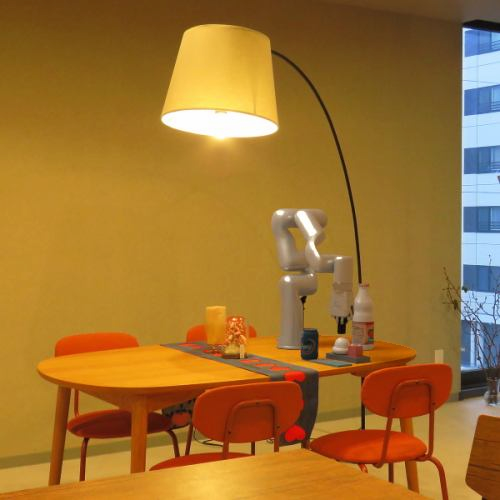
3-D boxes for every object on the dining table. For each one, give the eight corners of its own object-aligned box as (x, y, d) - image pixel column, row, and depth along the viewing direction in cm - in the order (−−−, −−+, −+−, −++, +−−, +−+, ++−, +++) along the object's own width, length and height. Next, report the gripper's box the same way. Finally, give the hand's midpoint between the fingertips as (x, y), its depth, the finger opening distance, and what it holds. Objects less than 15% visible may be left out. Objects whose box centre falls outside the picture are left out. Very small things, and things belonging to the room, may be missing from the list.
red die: (347, 355, 297) (348, 344, 297) (355, 354, 300) (355, 343, 300) (355, 357, 294) (355, 345, 294) (362, 356, 297) (362, 344, 297)
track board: (309, 361, 294) (309, 360, 294) (323, 360, 299) (323, 358, 299) (337, 367, 283) (337, 365, 283) (352, 365, 287) (352, 363, 287)
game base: (325, 358, 304) (325, 352, 304) (340, 356, 309) (340, 351, 309) (355, 363, 292) (355, 358, 292) (370, 361, 297) (370, 356, 297)
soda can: (299, 360, 297) (299, 329, 297) (301, 357, 304) (302, 327, 304) (317, 361, 296) (317, 330, 295) (319, 358, 302) (319, 328, 302)
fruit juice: (351, 347, 336) (352, 282, 335) (373, 347, 335) (374, 283, 334) (351, 350, 326) (352, 284, 326) (374, 350, 325) (375, 284, 325)
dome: (328, 352, 303) (328, 336, 303) (342, 350, 308) (342, 335, 308) (342, 354, 297) (342, 339, 297) (356, 352, 302) (356, 337, 302)
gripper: (322, 286, 306) (321, 332, 306) (350, 289, 294) (348, 337, 295) (336, 285, 310) (334, 330, 311) (363, 288, 299) (362, 335, 300)
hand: (341, 333), depth 303 cm, fingers closed
